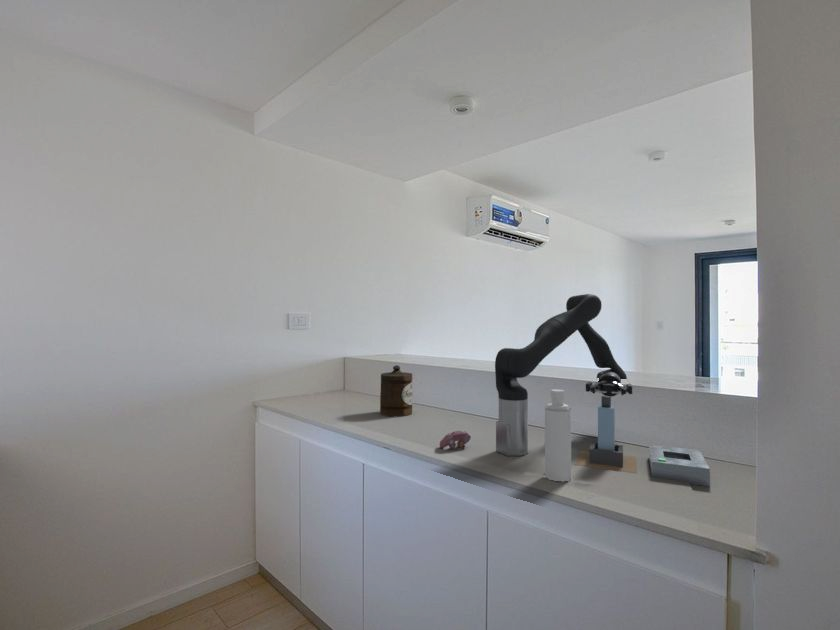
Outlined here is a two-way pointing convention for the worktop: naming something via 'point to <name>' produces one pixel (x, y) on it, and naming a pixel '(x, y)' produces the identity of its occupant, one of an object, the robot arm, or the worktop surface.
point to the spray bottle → (558, 438)
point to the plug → (606, 424)
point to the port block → (679, 464)
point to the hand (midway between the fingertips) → (607, 391)
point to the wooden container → (396, 393)
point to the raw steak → (455, 439)
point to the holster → (607, 459)
